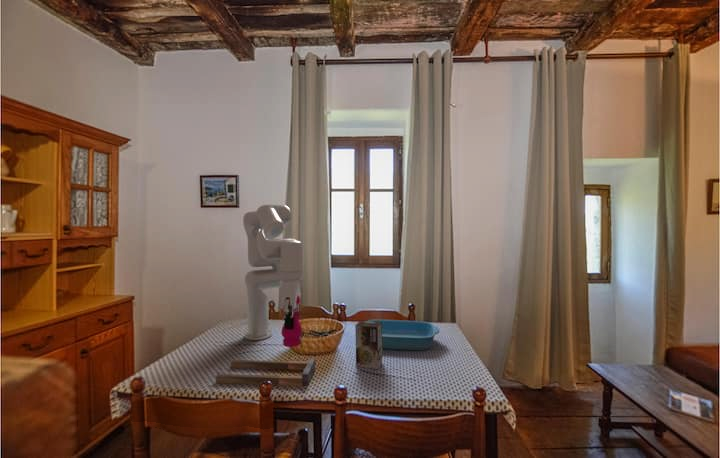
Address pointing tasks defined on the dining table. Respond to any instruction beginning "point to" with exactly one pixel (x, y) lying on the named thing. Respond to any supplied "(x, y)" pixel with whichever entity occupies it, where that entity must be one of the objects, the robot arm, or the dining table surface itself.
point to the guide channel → (275, 380)
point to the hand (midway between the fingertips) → (291, 325)
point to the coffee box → (368, 344)
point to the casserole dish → (407, 334)
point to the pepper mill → (293, 330)
